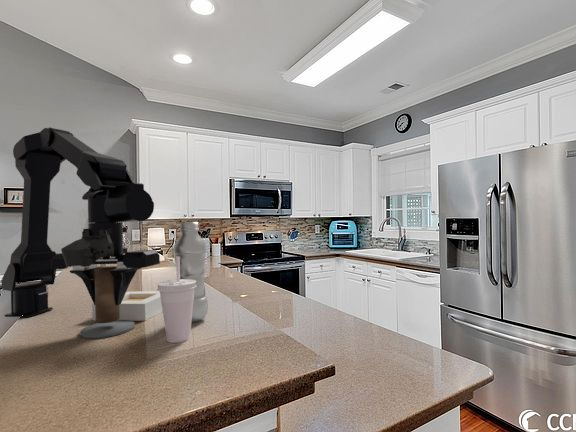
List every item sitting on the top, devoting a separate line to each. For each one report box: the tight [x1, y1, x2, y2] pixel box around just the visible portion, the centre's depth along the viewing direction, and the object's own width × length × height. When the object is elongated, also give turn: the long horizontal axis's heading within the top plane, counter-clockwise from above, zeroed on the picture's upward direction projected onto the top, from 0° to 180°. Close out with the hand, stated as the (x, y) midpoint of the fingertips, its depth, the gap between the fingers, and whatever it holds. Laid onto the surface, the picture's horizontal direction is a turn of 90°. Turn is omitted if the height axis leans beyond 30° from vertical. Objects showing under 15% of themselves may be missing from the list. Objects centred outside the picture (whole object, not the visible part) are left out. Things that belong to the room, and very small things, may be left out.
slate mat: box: [79, 320, 136, 340], centre depth 62 cm, size 9×9×1 cm
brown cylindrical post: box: [94, 265, 120, 324], centre depth 62 cm, size 4×4×10 cm
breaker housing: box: [91, 290, 163, 322], centre depth 74 cm, size 12×12×4 cm
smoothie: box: [157, 257, 196, 344], centre depth 56 cm, size 6×6×14 cm
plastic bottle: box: [173, 221, 209, 323], centre depth 67 cm, size 6×7×20 cm
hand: (107, 304), depth 62 cm, fingers closed on brown cylindrical post, 4 cm apart
